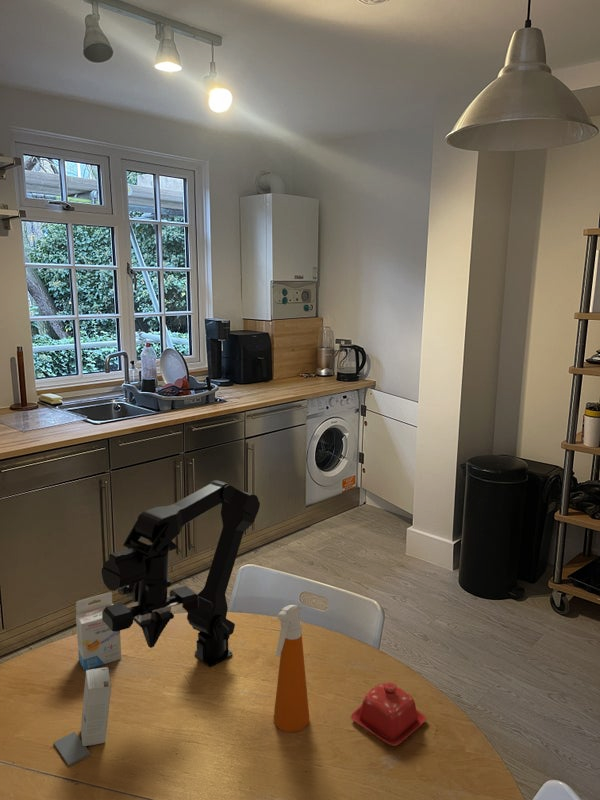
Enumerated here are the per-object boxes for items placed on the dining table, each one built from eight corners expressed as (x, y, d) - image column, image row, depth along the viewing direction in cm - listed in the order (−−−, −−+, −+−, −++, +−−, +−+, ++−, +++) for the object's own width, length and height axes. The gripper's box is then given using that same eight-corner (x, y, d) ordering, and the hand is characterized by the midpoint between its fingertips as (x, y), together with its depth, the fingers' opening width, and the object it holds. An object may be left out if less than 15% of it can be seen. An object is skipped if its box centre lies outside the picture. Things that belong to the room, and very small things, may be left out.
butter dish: (383, 694, 126) (384, 658, 125) (429, 723, 118) (431, 685, 117) (347, 721, 118) (348, 684, 117) (394, 755, 110) (396, 714, 109)
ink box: (84, 672, 132) (79, 611, 129) (78, 660, 136) (74, 601, 133) (122, 659, 136) (118, 600, 133) (115, 647, 141) (112, 590, 137)
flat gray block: (74, 733, 114) (74, 731, 114) (90, 754, 109) (90, 752, 109) (53, 744, 112) (53, 742, 112) (68, 766, 107) (68, 764, 107)
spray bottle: (259, 740, 113) (259, 614, 108) (282, 703, 123) (282, 586, 118) (294, 751, 111) (295, 623, 105) (314, 712, 120) (316, 593, 115)
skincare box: (80, 725, 116) (83, 668, 114) (104, 721, 118) (108, 665, 116) (82, 748, 110) (86, 689, 108) (107, 743, 112) (111, 685, 110)
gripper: (176, 551, 132) (173, 617, 134) (92, 569, 120) (90, 642, 122) (201, 569, 124) (198, 640, 126) (114, 591, 112) (112, 668, 114)
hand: (150, 646), depth 122 cm, fingers closed
